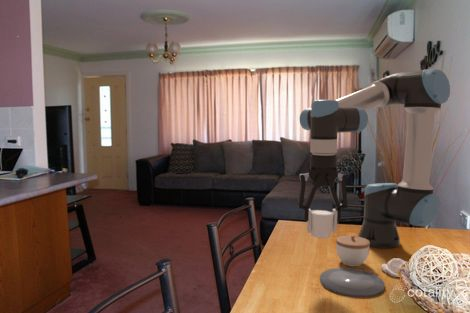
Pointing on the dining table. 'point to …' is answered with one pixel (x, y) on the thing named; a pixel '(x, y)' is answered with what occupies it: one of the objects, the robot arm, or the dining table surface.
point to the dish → (352, 282)
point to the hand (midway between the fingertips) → (321, 231)
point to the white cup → (321, 223)
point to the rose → (393, 266)
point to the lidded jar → (352, 249)
